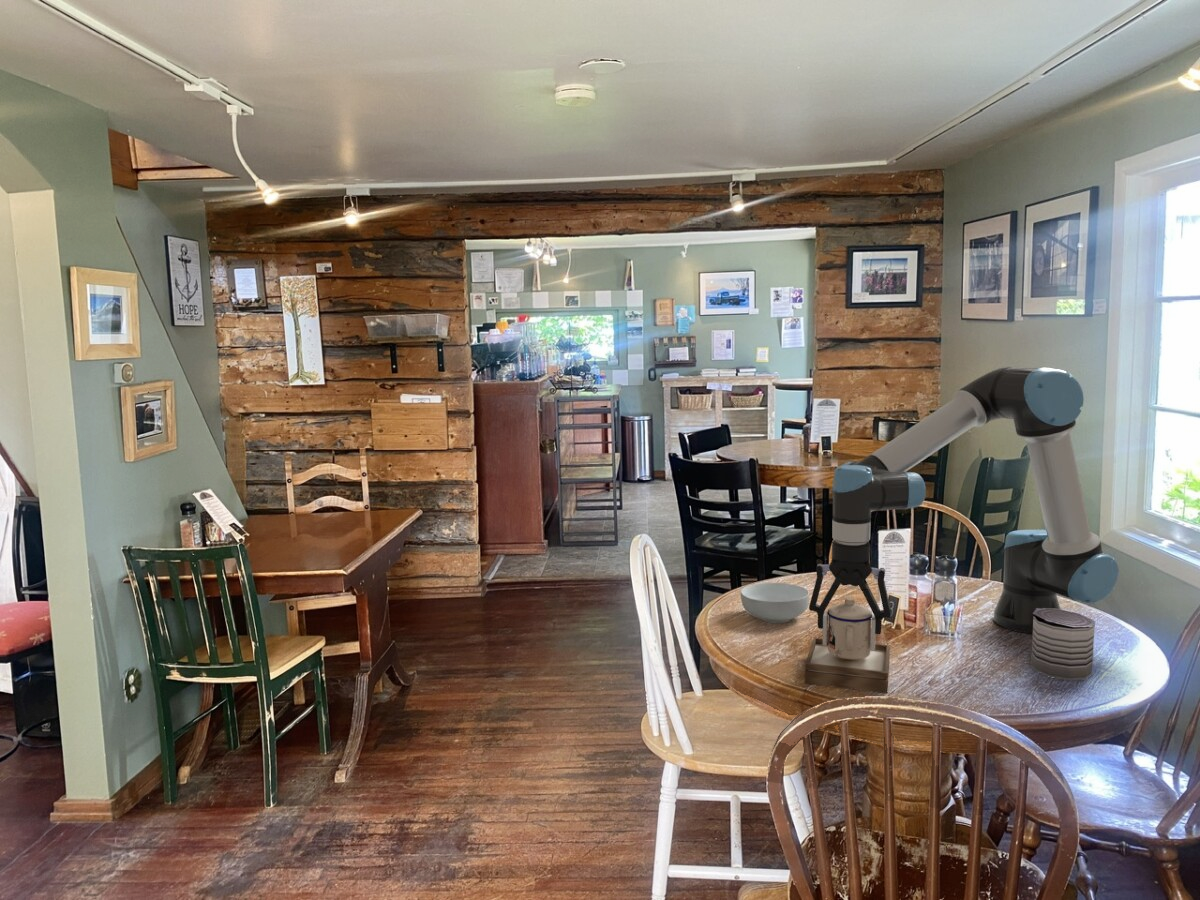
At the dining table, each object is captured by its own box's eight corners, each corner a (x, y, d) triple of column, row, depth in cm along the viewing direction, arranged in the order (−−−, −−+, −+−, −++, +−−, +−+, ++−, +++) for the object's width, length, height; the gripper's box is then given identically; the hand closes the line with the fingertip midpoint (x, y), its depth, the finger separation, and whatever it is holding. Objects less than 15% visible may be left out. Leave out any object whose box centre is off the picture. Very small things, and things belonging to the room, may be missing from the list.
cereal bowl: (785, 604, 226) (785, 578, 226) (822, 623, 211) (823, 595, 210) (728, 612, 221) (728, 586, 220) (762, 633, 205) (762, 604, 204)
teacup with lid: (826, 643, 187) (827, 591, 185) (870, 646, 184) (871, 594, 183) (826, 663, 175) (827, 608, 173) (872, 667, 173) (874, 611, 171)
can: (1032, 656, 188) (1035, 603, 186) (1092, 665, 182) (1095, 611, 180) (1028, 674, 178) (1031, 618, 176) (1091, 684, 172) (1094, 627, 170)
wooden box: (889, 663, 185) (889, 645, 184) (887, 693, 170) (887, 672, 169) (813, 655, 190) (813, 637, 190) (804, 683, 175) (805, 663, 175)
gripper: (907, 539, 176) (903, 645, 179) (799, 533, 184) (798, 634, 187) (906, 548, 169) (903, 657, 172) (795, 541, 177) (793, 646, 180)
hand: (848, 645), depth 179 cm, fingers closed on teacup with lid, 9 cm apart
